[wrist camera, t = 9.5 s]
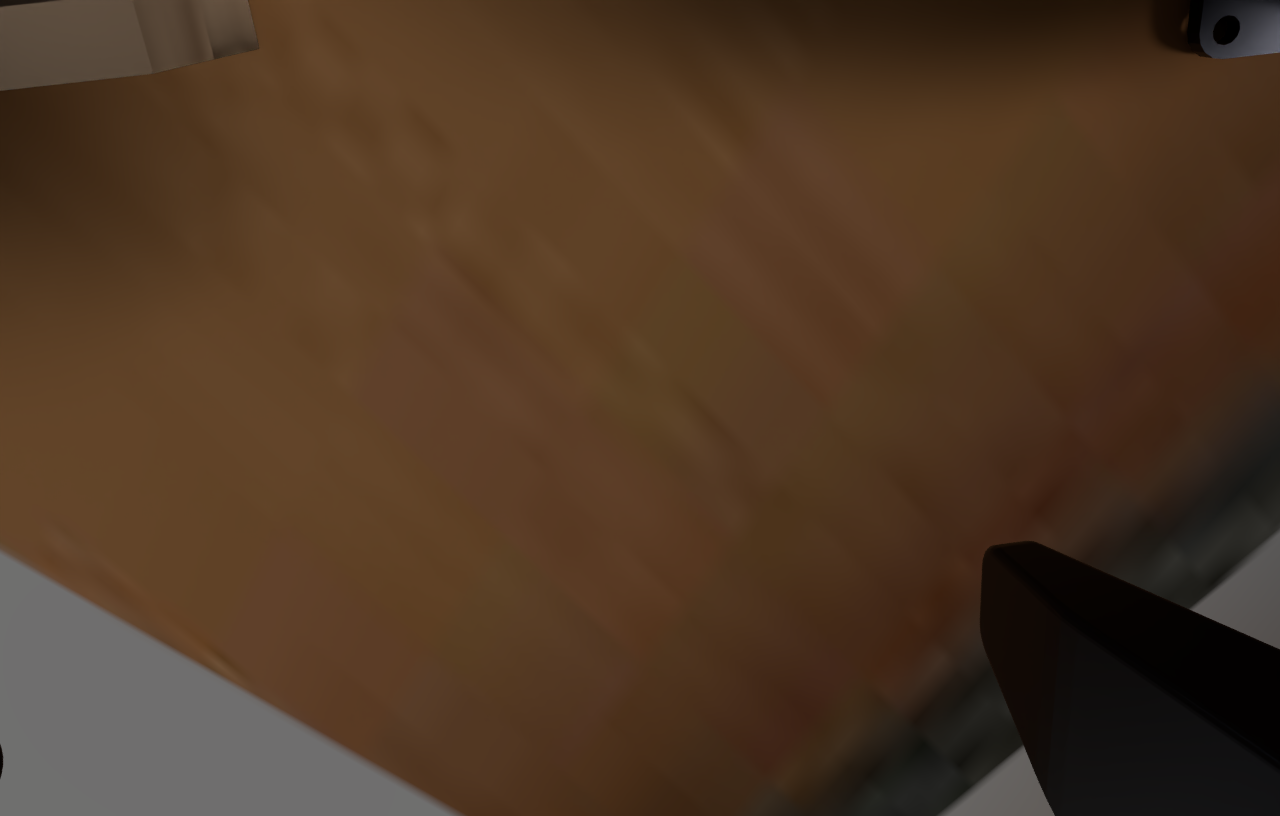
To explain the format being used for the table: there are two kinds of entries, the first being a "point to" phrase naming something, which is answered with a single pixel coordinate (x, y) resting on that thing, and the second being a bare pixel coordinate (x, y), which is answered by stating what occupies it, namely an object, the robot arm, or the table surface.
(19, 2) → the holder
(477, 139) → the table surface
